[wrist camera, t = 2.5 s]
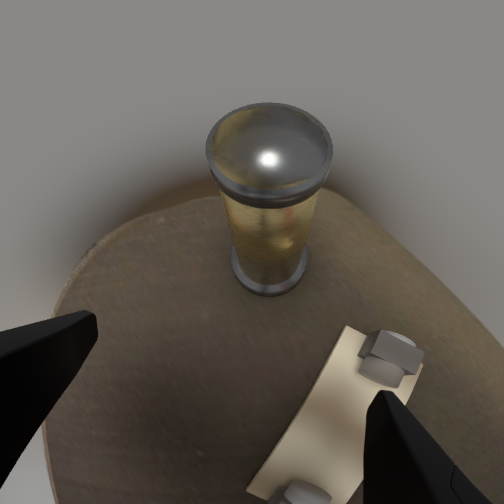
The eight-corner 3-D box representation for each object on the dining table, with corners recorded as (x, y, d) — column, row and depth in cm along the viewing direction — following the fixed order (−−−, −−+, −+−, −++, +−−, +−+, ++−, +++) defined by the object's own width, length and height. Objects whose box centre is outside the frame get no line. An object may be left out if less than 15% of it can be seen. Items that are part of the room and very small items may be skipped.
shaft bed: (325, 522, 15) (335, 544, 11) (244, 490, 17) (240, 510, 13) (420, 361, 20) (445, 357, 16) (345, 323, 21) (360, 313, 18)
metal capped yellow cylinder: (234, 299, 22) (195, 208, 10) (230, 231, 24) (200, 104, 12) (309, 293, 22) (355, 196, 10) (300, 225, 24) (323, 97, 12)
